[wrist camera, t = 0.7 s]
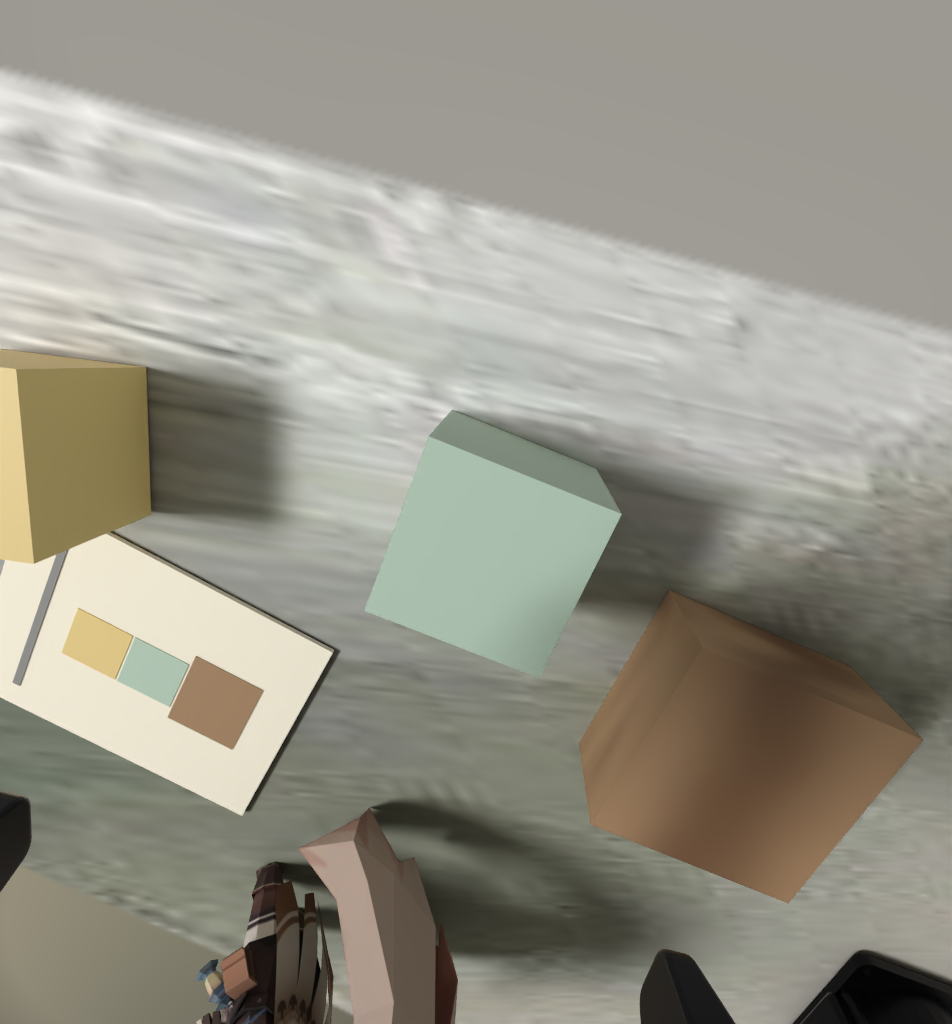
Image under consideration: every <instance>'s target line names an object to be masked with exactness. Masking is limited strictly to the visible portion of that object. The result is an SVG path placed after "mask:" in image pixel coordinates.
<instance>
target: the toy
mask: <svg viewBox="0 0 952 1024" xmlns="http://www.w3.org/2000/svg"><path fill="white" fill-rule="evenodd" d="M299 850H300V851H301V853H302V854H303V855H304V857H305V858H306V859H307V861H308V862H309V864H310V865H311V866H312V868H313V869H314V870H315V872H316V873H317V874H318V876H319V877H320V878H321V880H322V881H323V882H324V884H325V885H326V887H327V888H328V889H329V891H330V892H331V893H332V895H333V896H334V897H335V899H336V900H337V906H338V913H339V920H340V926H341V933H342V940H343V947H344V954H345V960H346V967H347V974H348V981H349V987H350V994H351V1001H352V1008H353V1015H354V1024H455V1014H456V1000H457V985H458V979H457V975H456V971H455V967H454V963H453V960H452V956H451V953H450V950H449V947H448V944H447V940H446V937H445V934H444V931H443V928H442V924H441V921H440V931H439V947H438V946H437V945H436V926H435V923H434V920H433V917H432V913H431V910H430V907H429V904H428V900H427V897H426V894H425V891H424V888H423V884H422V881H421V878H420V875H419V871H418V868H417V865H416V862H415V858H414V857H413V858H410V859H407V860H404V861H402V862H399V861H398V859H397V857H396V855H395V853H394V852H393V850H392V848H391V846H390V844H389V842H388V841H387V839H386V837H385V835H384V833H383V832H382V830H381V828H380V826H379V824H378V822H377V821H376V819H375V817H374V815H373V813H372V812H371V810H370V808H369V809H368V810H367V811H366V812H365V813H364V814H363V815H362V816H361V817H360V818H359V819H357V820H355V821H353V822H351V823H349V824H347V825H345V826H343V827H341V828H339V829H337V830H335V831H333V832H331V833H329V834H327V835H325V836H323V837H321V838H319V839H317V840H315V841H313V842H311V843H309V844H307V845H305V846H303V847H301V848H299ZM256 874H257V882H256V885H255V888H254V891H253V893H252V897H253V900H254V902H253V906H252V911H251V915H250V919H249V924H248V928H247V933H246V937H245V941H244V947H241V948H240V949H238V950H237V951H235V952H234V953H232V954H231V955H229V956H227V957H226V958H225V959H223V961H222V964H221V968H222V974H221V973H220V972H218V971H216V966H217V964H218V959H217V960H211V961H210V962H209V963H208V964H207V965H206V966H204V967H203V968H202V969H201V970H200V971H199V973H198V975H197V978H196V980H197V981H199V980H205V986H206V989H207V992H208V994H209V997H210V1000H209V1002H214V1003H215V1004H216V1003H219V1005H218V1007H217V1009H216V1011H215V1012H213V1019H212V1018H211V1016H210V1013H208V1014H206V1015H205V1016H203V1019H200V1020H199V1021H198V1022H197V1023H196V1024H323V1018H324V1012H325V1006H326V993H327V979H328V994H329V1010H328V1013H327V1017H326V1021H325V1024H331V1014H332V995H333V973H332V968H331V963H330V959H329V955H328V950H327V945H326V940H325V935H324V930H323V924H322V919H321V914H320V909H319V915H320V923H321V934H322V945H323V949H322V966H321V970H320V966H319V962H318V958H317V939H318V934H317V922H316V910H315V900H314V893H309V894H305V915H304V912H302V911H301V910H300V909H299V908H298V905H297V901H296V897H295V893H294V889H293V885H292V882H291V881H289V882H286V883H284V882H283V878H282V872H281V867H280V866H279V865H278V864H277V863H271V865H267V866H263V867H261V868H259V869H258V870H257V871H256ZM318 907H319V904H318ZM328 961H329V964H328ZM220 1009H222V1011H223V1014H222V1018H221V1014H220V1011H217V1010H220Z"/></svg>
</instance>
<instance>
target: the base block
mask: <svg viewBox="0 0 952 1024" xmlns="http://www.w3.org/2000/svg"><path fill="white" fill-rule="evenodd" d="M922 741H923V739H922V738H921V737H920V736H919V735H918V734H917V733H916V732H915V731H914V730H913V729H912V728H911V727H910V726H909V725H908V724H907V723H906V722H905V721H904V720H903V719H902V718H901V717H900V716H899V715H898V714H897V713H896V712H895V711H894V710H893V709H892V708H891V707H890V706H889V705H888V704H887V703H886V702H885V701H884V700H883V699H882V698H881V697H880V696H879V695H878V694H877V693H876V692H875V691H874V690H873V689H872V688H871V687H870V686H869V685H868V684H867V683H866V682H865V681H864V680H863V679H862V678H861V677H860V676H859V675H858V674H857V673H856V672H855V671H854V670H853V669H852V668H851V667H850V666H847V665H845V664H842V663H840V662H838V661H835V660H833V659H831V658H828V657H826V656H824V655H821V654H819V653H817V652H814V651H812V650H809V649H807V648H805V647H802V646H800V645H798V644H795V643H793V642H791V641H788V640H786V639H784V638H781V637H779V636H776V635H774V634H772V633H769V632H767V631H765V630H762V629H760V628H758V627H755V626H753V625H751V624H748V623H746V622H743V621H741V620H739V619H736V618H734V617H732V616H729V615H727V614H725V613H722V612H720V611H718V610H715V609H713V608H710V607H708V606H706V605H703V604H701V603H699V602H696V601H694V600H692V599H689V598H687V597H684V596H682V595H680V594H677V593H675V592H673V591H670V590H669V591H668V593H667V595H666V596H665V598H664V600H663V601H662V603H661V605H660V607H659V608H658V610H657V612H656V613H655V615H654V617H653V618H652V620H651V622H650V624H649V625H648V627H647V629H646V630H645V632H644V634H643V635H642V637H641V639H640V641H639V642H638V644H637V646H636V647H635V649H634V651H633V652H632V654H631V656H630V658H629V659H628V661H627V663H626V664H625V666H624V668H623V669H622V671H621V673H620V675H619V676H618V678H617V680H616V681H615V683H614V685H613V686H612V688H611V690H610V692H609V693H608V695H607V697H606V698H605V700H604V702H603V703H602V705H601V707H600V709H599V710H598V712H597V714H596V715H595V717H594V719H593V721H592V722H591V724H590V726H589V727H588V729H587V731H586V732H585V734H584V736H583V738H582V739H581V741H580V743H579V747H580V754H581V761H582V768H583V775H584V782H585V789H586V795H587V802H588V809H589V816H590V823H591V825H593V826H596V827H598V828H601V829H603V830H606V831H608V832H611V833H613V834H616V835H618V836H621V837H623V838H626V839H628V840H631V841H633V842H636V843H638V844H641V845H643V846H646V847H648V848H651V849H653V850H656V851H658V852H661V853H663V854H666V855H668V856H671V857H673V858H676V859H678V860H681V861H683V862H686V863H688V864H691V865H693V866H696V867H698V868H701V869H703V870H706V871H708V872H711V873H713V874H716V875H718V876H721V877H723V878H726V879H728V880H731V881H733V882H736V883H738V884H741V885H743V886H746V887H749V888H751V889H754V890H756V891H759V892H761V893H764V894H766V895H769V896H771V897H774V898H776V899H779V900H781V901H784V902H786V903H789V902H790V901H791V899H792V898H793V897H794V896H795V895H796V893H797V892H798V891H799V890H800V889H801V887H802V886H803V885H804V884H805V882H806V881H807V880H808V879H809V878H810V876H811V875H812V874H813V873H814V872H815V870H816V869H817V868H818V867H819V866H820V864H821V863H822V862H823V861H824V859H825V858H826V857H827V856H828V855H829V853H830V852H831V851H832V850H833V849H834V847H835V846H836V845H837V844H838V842H839V841H840V840H841V839H842V838H843V836H844V835H845V834H846V833H847V832H848V830H849V829H850V828H851V827H852V826H853V824H854V823H855V822H856V821H857V819H858V818H859V817H860V816H861V815H862V813H863V812H864V811H865V810H866V809H867V807H868V806H869V805H870V804H871V803H872V801H873V800H874V799H875V798H876V796H877V795H878V794H879V793H880V792H881V790H882V789H883V788H884V787H885V786H886V784H887V783H888V782H889V781H890V780H891V778H892V777H893V776H894V775H895V773H896V772H897V771H898V770H899V769H900V767H901V766H902V765H903V764H904V763H905V761H906V760H907V759H908V758H909V757H910V755H911V754H912V753H913V752H914V750H915V749H916V748H917V747H918V746H919V744H920V743H921V742H922Z"/></svg>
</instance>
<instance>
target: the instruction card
mask: <svg viewBox="0 0 952 1024" xmlns="http://www.w3.org/2000/svg"><path fill="white" fill-rule="evenodd" d="M333 652H334V649H332V648H330V647H328V646H326V645H324V644H322V643H320V642H318V641H317V640H315V639H313V638H311V637H309V636H307V635H305V634H303V633H301V632H299V631H298V630H296V629H294V628H292V627H290V626H288V625H286V624H284V623H282V622H280V621H279V620H277V619H275V618H273V617H271V616H269V615H267V614H265V613H263V612H261V611H260V610H258V609H256V608H254V607H252V606H250V605H248V604H246V603H244V602H242V601H241V600H239V599H237V598H235V597H233V596H231V595H229V594H227V593H225V592H223V591H222V590H220V589H218V588H216V587H214V586H212V585H210V584H208V583H206V582H204V581H203V580H201V579H199V578H197V577H195V576H193V575H191V574H189V573H187V572H185V571H183V570H182V569H180V568H178V567H176V566H174V565H172V564H170V563H168V562H166V561H164V560H163V559H161V558H159V557H157V556H155V555H153V554H151V553H149V552H147V551H145V550H144V549H142V548H140V547H138V546H136V545H134V544H132V543H130V542H128V541H126V540H125V539H123V538H121V537H119V536H117V535H115V534H113V533H111V532H109V533H106V534H104V535H102V536H99V537H97V538H94V539H92V540H90V541H87V542H85V543H83V544H80V545H78V546H75V547H73V548H71V549H68V550H66V551H63V552H61V553H59V554H56V555H54V556H52V557H49V558H47V559H44V560H42V561H40V562H37V563H35V564H31V563H23V562H16V561H9V560H5V563H4V566H3V570H2V573H1V576H0V697H1V698H3V699H5V700H7V701H9V702H11V703H13V704H15V705H17V706H19V707H21V708H23V709H25V710H27V711H29V712H31V713H33V714H36V715H38V716H40V717H42V718H44V719H46V720H48V721H50V722H52V723H54V724H56V725H58V726H60V727H62V728H64V729H66V730H68V731H70V732H72V733H74V734H76V735H78V736H80V737H82V738H84V739H87V740H89V741H91V742H93V743H95V744H97V745H99V746H101V747H103V748H105V749H107V750H109V751H111V752H113V753H115V754H117V755H119V756H121V757H123V758H125V759H127V760H129V761H131V762H133V763H135V764H138V765H140V766H142V767H144V768H146V769H148V770H150V771H152V772H154V773H156V774H158V775H160V776H162V777H164V778H166V779H168V780H170V781H172V782H174V783H176V784H178V785H180V786H182V787H184V788H186V789H188V790H191V791H193V792H195V793H197V794H199V795H201V796H203V797H205V798H207V799H209V800H211V801H213V802H215V803H217V804H219V805H221V806H223V807H225V808H227V809H229V810H231V811H233V812H235V813H237V814H239V815H243V813H244V811H245V810H246V808H247V806H248V804H249V802H250V801H251V799H252V797H253V795H254V793H255V792H256V790H257V788H258V786H259V784H260V783H261V781H262V779H263V777H264V775H265V774H266V772H267V770H268V768H269V766H270V765H271V763H272V761H273V759H274V758H275V756H276V754H277V752H278V750H279V749H280V747H281V745H282V743H283V741H284V740H285V738H286V736H287V734H288V732H289V731H290V729H291V727H292V725H293V723H294V722H295V720H296V718H297V716H298V714H299V713H300V711H301V709H302V707H303V706H304V704H305V702H306V700H307V698H308V697H309V695H310V693H311V691H312V689H313V688H314V686H315V684H316V682H317V680H318V679H319V677H320V675H321V673H322V671H323V670H324V668H325V666H326V664H327V662H328V661H329V659H330V657H331V655H332V654H333Z"/></svg>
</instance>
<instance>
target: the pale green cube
mask: <svg viewBox="0 0 952 1024" xmlns="http://www.w3.org/2000/svg"><path fill="white" fill-rule="evenodd" d="M621 515H622V513H621V512H620V510H619V508H618V506H617V505H616V503H615V501H614V499H613V498H612V496H611V494H610V492H609V491H608V489H607V487H606V485H605V483H604V482H603V480H602V478H601V476H600V475H599V473H598V471H597V469H596V468H594V467H592V466H589V465H587V464H584V463H582V462H579V461H577V460H574V459H572V458H569V457H567V456H564V455H562V454H559V453H557V452H555V451H552V450H550V449H547V448H545V447H542V446H540V445H537V444H535V443H532V442H530V441H527V440H525V439H523V438H520V437H518V436H515V435H513V434H510V433H508V432H505V431H503V430H500V429H498V428H495V427H493V426H491V425H488V424H486V423H483V422H481V421H478V420H476V419H473V418H471V417H468V416H466V415H463V414H461V413H459V412H456V411H454V410H452V411H451V412H450V413H449V414H448V415H447V416H446V417H445V418H444V420H443V421H442V422H441V423H440V424H439V425H438V426H437V428H436V429H435V430H434V431H433V432H432V433H431V434H430V435H429V437H428V440H427V442H426V445H425V448H424V451H423V453H422V456H421V459H420V461H419V464H418V467H417V470H416V472H415V475H414V478H413V480H412V483H411V486H410V488H409V491H408V494H407V497H406V499H405V502H404V505H403V507H402V510H401V513H400V516H399V518H398V521H397V524H396V526H395V529H394V532H393V535H392V537H391V540H390V543H389V545H388V548H387V551H386V553H385V556H384V559H383V562H382V564H381V567H380V570H379V572H378V575H377V578H376V581H375V583H374V586H373V589H372V591H371V594H370V597H369V599H368V602H367V605H366V608H365V610H364V611H366V612H369V613H372V614H374V615H377V616H379V617H382V618H385V619H387V620H390V621H392V622H395V623H398V624H400V625H403V626H405V627H408V628H411V629H413V630H416V631H418V632H421V633H423V634H426V635H429V636H431V637H434V638H436V639H439V640H442V641H444V642H447V643H449V644H452V645H455V646H457V647H460V648H462V649H465V650H467V651H470V652H473V653H475V654H478V655H480V656H483V657H486V658H488V659H491V660H493V661H496V662H499V663H501V664H504V665H506V666H509V667H512V668H514V669H517V670H519V671H522V672H524V673H527V674H530V675H532V676H535V677H537V678H540V676H541V674H542V672H543V670H544V668H545V666H546V664H547V662H548V660H549V658H550V656H551V654H552V652H553V650H554V648H555V646H556V644H557V642H558V640H559V638H560V636H561V634H562V632H563V630H564V628H565V626H566V624H567V622H568V620H569V618H570V616H571V614H572V612H573V610H574V608H575V606H576V604H577V602H578V600H579V598H580V596H581V594H582V592H583V590H584V588H585V586H586V584H587V582H588V580H589V578H590V576H591V574H592V572H593V570H594V568H595V566H596V564H597V562H598V560H599V558H600V557H601V555H602V553H603V551H604V549H605V547H606V545H607V543H608V541H609V539H610V537H611V535H612V533H613V531H614V529H615V527H616V525H617V523H618V521H619V519H620V517H621Z"/></svg>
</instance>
